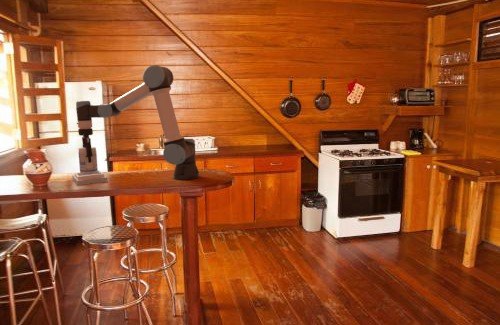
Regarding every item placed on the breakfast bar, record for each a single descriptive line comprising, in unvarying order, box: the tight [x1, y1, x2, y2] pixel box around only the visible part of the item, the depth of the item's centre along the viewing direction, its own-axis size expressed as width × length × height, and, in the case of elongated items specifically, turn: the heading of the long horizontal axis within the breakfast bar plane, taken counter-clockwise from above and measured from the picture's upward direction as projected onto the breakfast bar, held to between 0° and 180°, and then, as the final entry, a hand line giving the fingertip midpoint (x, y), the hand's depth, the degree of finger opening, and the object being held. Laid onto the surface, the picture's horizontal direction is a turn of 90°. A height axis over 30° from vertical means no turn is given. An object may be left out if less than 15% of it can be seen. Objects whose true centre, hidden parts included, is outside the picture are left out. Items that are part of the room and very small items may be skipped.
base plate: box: [71, 170, 108, 186], centre depth 227 cm, size 20×16×4 cm
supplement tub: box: [78, 146, 99, 174], centre depth 225 cm, size 10×10×15 cm
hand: (88, 166), depth 226 cm, fingers open, 10 cm apart
